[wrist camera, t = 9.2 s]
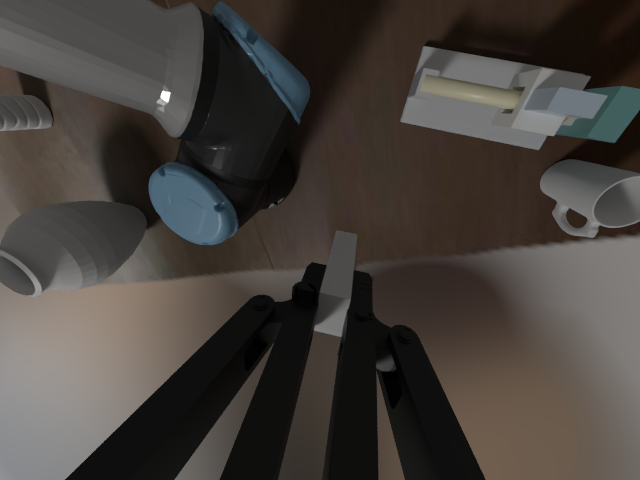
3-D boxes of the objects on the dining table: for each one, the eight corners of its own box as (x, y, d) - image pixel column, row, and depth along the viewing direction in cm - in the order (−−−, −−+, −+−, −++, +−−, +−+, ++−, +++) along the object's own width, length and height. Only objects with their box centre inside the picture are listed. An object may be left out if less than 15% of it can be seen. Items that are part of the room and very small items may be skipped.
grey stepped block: (490, 124, 34) (531, 130, 25) (514, 74, 31) (571, 61, 22) (526, 131, 34) (581, 140, 25) (554, 81, 31) (628, 71, 22)
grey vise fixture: (399, 121, 40) (408, 126, 30) (422, 47, 35) (442, 22, 25) (538, 149, 39) (597, 165, 28) (583, 75, 33) (676, 61, 23)
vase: (93, 179, 59) (-67, 219, 38) (156, 190, 57) (25, 240, 36) (116, 240, 68) (-3, 301, 47) (172, 252, 66) (74, 322, 45)
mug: (552, 154, 38) (616, 171, 28) (598, 160, 38) (682, 180, 27) (519, 211, 43) (564, 243, 33) (559, 218, 43) (618, 252, 32)
